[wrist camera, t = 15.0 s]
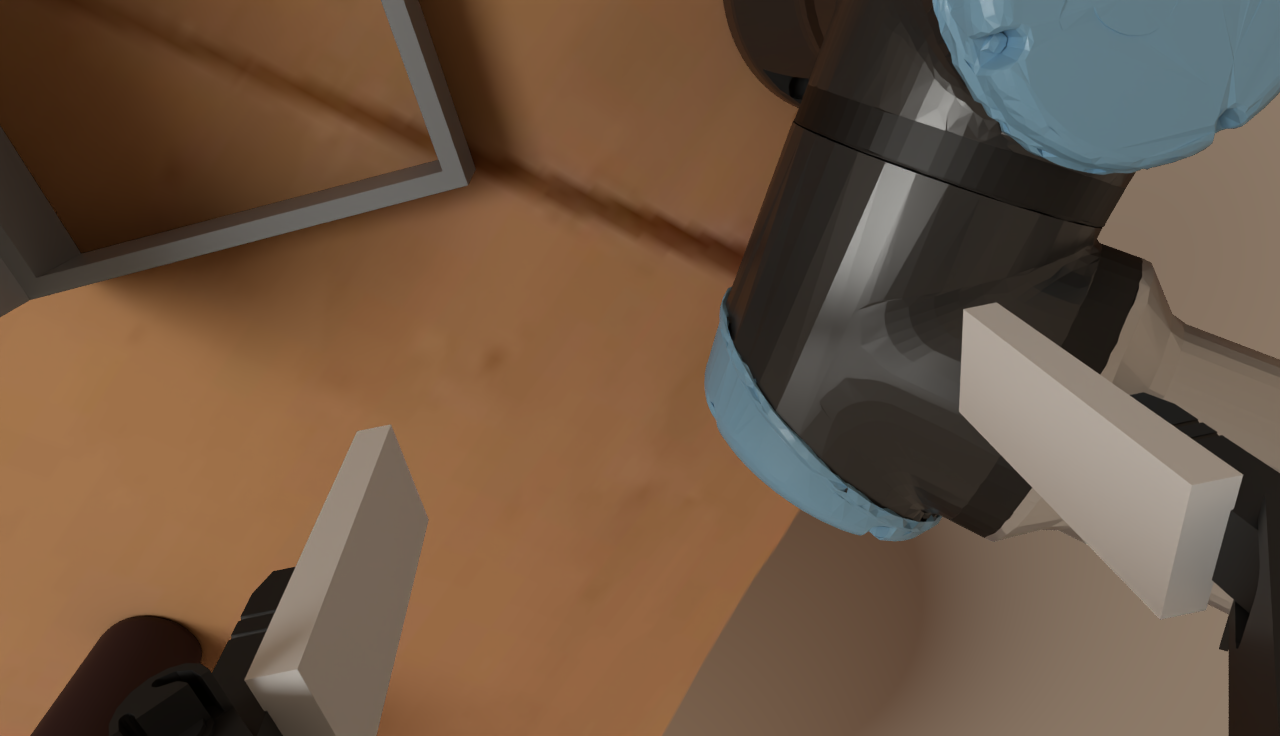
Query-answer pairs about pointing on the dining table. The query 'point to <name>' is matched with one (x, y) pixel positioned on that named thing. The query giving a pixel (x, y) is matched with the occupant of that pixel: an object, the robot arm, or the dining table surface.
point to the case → (50, 261)
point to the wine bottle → (117, 674)
